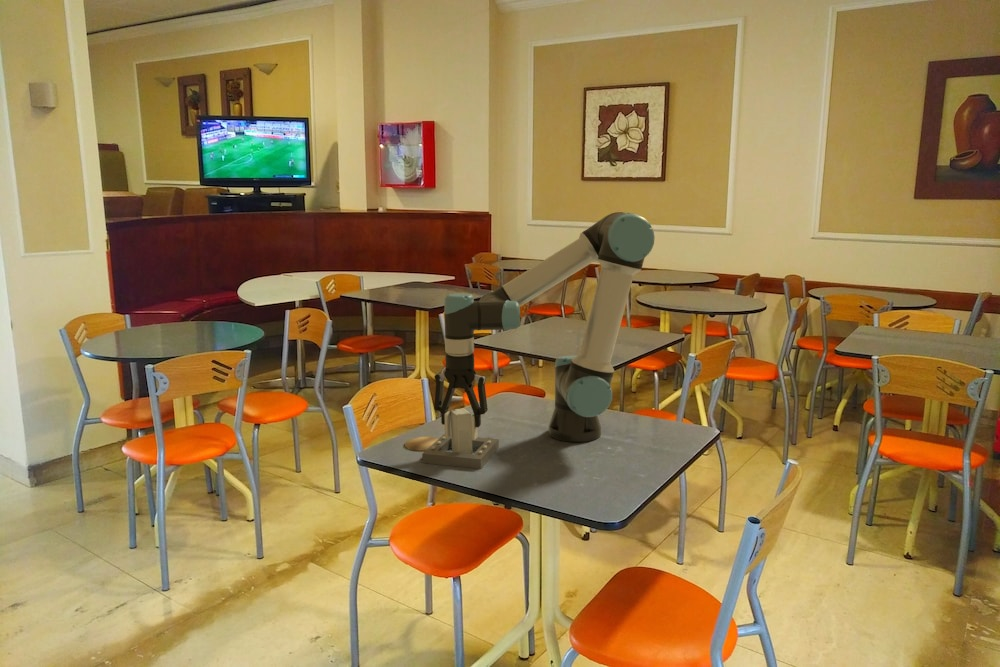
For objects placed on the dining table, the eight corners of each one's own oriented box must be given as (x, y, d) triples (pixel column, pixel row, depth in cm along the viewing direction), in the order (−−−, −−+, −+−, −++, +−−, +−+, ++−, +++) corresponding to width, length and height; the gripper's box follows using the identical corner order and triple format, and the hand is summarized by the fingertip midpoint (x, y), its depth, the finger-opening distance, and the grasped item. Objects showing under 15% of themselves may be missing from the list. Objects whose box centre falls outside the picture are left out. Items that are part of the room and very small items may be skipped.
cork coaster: (446, 440, 211) (446, 438, 210) (433, 452, 201) (433, 450, 201) (413, 437, 213) (413, 435, 213) (399, 449, 204) (399, 446, 204)
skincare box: (473, 457, 197) (473, 414, 194) (457, 460, 195) (456, 415, 193) (466, 450, 202) (465, 407, 200) (450, 452, 201) (449, 409, 199)
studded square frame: (498, 447, 204) (498, 437, 204) (481, 468, 189) (480, 457, 189) (444, 442, 209) (443, 432, 208) (422, 462, 194) (422, 451, 193)
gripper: (500, 352, 194) (500, 435, 199) (429, 348, 200) (431, 429, 204) (491, 358, 187) (492, 445, 192) (419, 354, 193) (421, 438, 197)
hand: (461, 437), depth 198 cm, fingers closed on skincare box, 7 cm apart
